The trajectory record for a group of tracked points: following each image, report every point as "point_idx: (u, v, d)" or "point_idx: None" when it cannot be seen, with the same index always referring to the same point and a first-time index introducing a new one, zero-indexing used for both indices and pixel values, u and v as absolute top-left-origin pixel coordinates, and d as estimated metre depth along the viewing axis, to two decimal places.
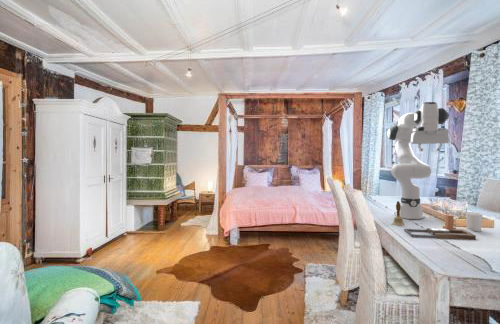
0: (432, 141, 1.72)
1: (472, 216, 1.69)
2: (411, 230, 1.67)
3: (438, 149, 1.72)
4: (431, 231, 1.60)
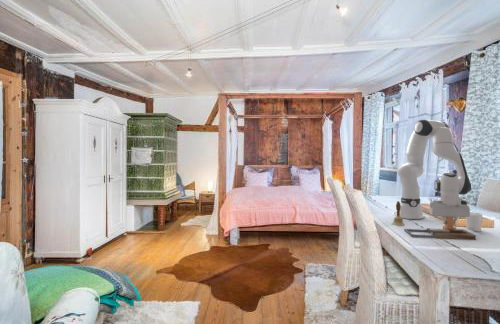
0: None
1: (472, 216, 1.69)
2: (411, 230, 1.67)
3: None
4: (431, 231, 1.60)
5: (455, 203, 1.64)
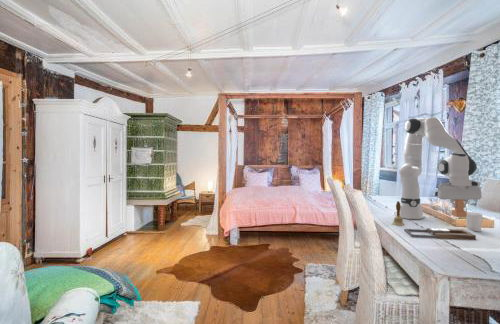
0: None
1: (472, 216, 1.69)
2: (411, 230, 1.67)
3: None
4: (431, 231, 1.60)
5: (465, 184, 1.52)
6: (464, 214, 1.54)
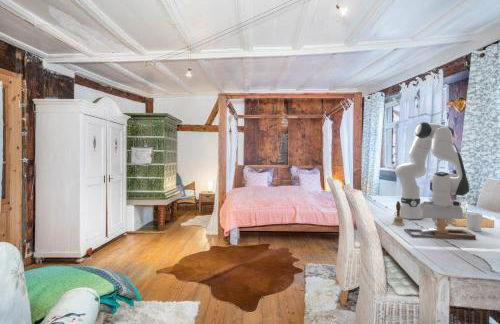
0: None
1: (472, 216, 1.69)
2: (411, 230, 1.67)
3: None
4: (420, 232, 1.61)
5: (447, 204, 1.54)
6: None
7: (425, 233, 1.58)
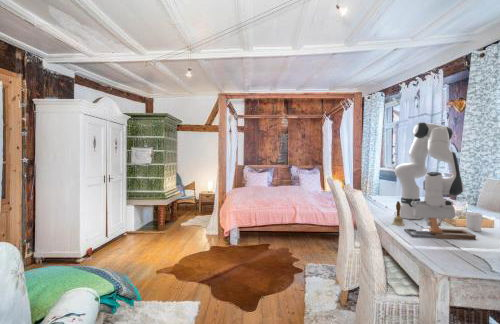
0: None
1: (472, 216, 1.69)
2: (411, 230, 1.67)
3: None
4: (414, 232, 1.61)
5: (439, 204, 1.55)
6: (440, 232, 1.57)
7: (419, 233, 1.59)
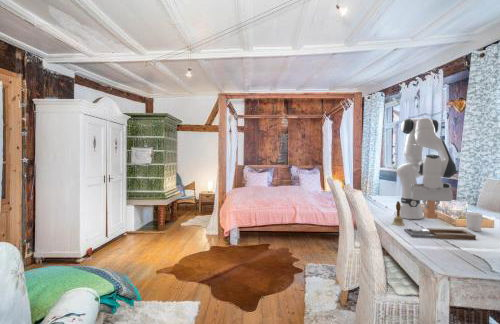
0: None
1: (472, 216, 1.69)
2: None
3: None
4: (411, 231, 1.62)
5: (437, 186, 1.55)
6: (435, 216, 1.57)
7: (416, 233, 1.60)
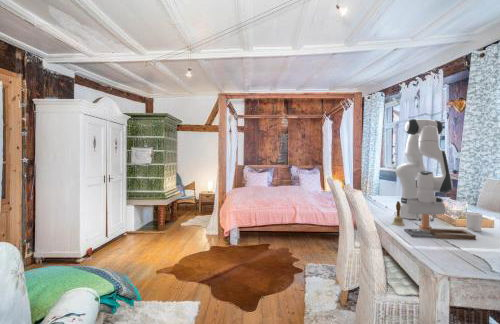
0: None
1: (472, 216, 1.69)
2: None
3: None
4: (411, 231, 1.62)
5: (430, 200, 1.66)
6: None
7: (416, 233, 1.60)
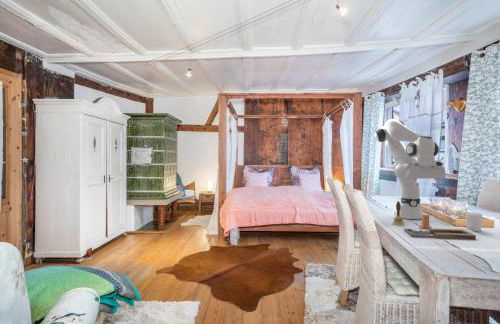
0: None
1: (472, 216, 1.69)
2: None
3: None
4: (411, 231, 1.62)
5: (430, 164, 1.66)
6: None
7: (416, 233, 1.60)
